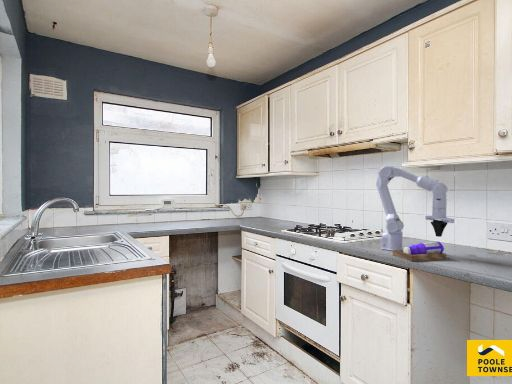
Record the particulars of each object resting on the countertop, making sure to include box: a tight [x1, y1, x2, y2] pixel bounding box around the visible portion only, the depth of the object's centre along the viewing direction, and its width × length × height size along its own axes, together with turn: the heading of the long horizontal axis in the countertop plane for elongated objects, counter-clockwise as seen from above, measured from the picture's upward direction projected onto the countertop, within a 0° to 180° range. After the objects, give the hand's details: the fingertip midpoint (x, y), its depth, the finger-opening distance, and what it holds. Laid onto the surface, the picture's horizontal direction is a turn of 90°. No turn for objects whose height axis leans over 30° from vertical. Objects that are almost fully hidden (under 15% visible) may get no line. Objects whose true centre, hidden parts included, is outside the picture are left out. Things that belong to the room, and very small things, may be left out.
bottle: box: [403, 241, 445, 255], centre depth 141 cm, size 7×6×17 cm
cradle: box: [392, 250, 447, 262], centre depth 142 cm, size 19×12×2 cm, turn 105°
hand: (438, 236), depth 144 cm, fingers closed
